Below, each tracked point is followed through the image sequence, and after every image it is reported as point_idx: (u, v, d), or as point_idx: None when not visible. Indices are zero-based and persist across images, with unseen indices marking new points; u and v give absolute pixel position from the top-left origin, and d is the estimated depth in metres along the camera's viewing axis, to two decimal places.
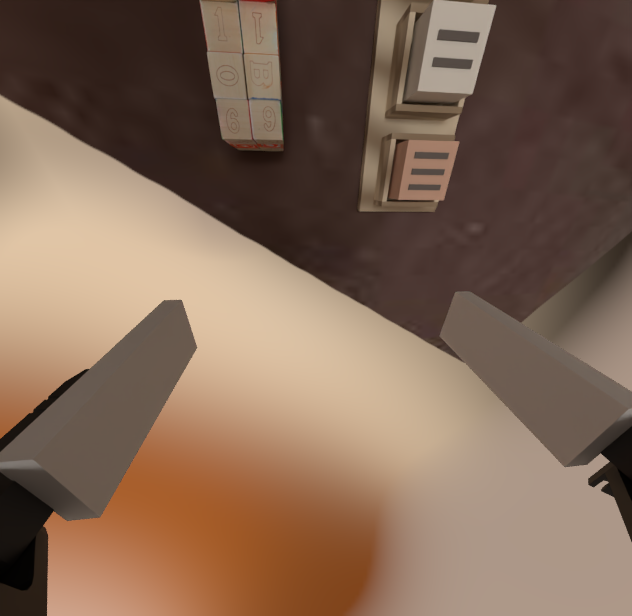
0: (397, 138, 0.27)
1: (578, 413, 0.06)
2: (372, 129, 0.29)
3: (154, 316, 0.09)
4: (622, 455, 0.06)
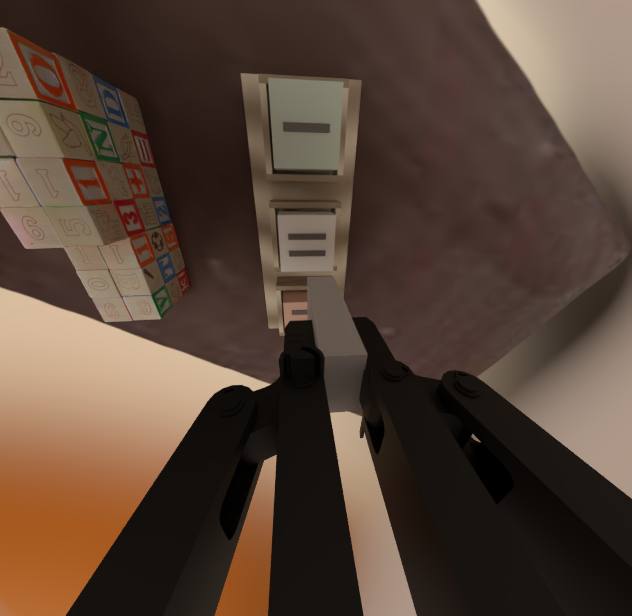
0: (281, 289, 0.29)
1: None
2: (266, 271, 0.31)
3: (315, 286, 0.11)
4: (361, 397, 0.07)
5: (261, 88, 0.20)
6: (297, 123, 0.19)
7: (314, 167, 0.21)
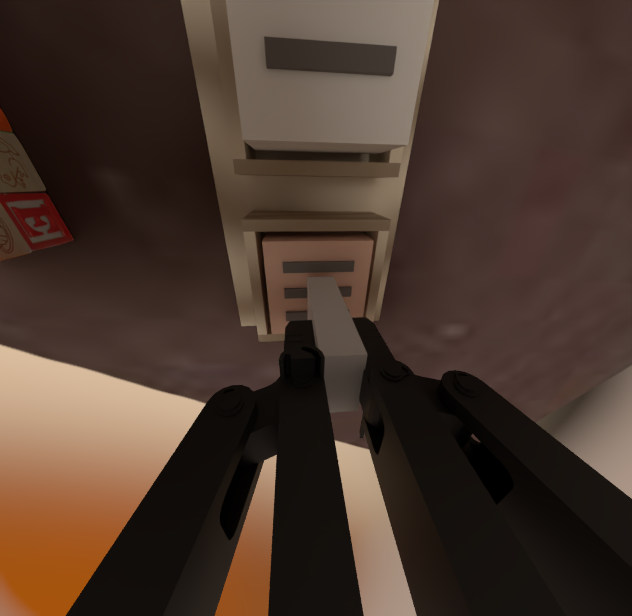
0: (258, 229, 0.12)
1: None
2: (227, 196, 0.14)
3: (315, 287, 0.11)
4: (361, 397, 0.07)
5: None
6: None
7: None
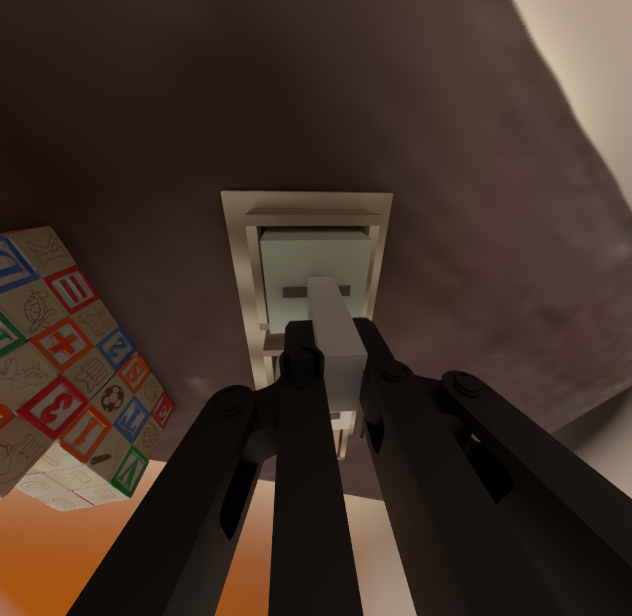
0: None
1: None
2: None
3: (315, 286, 0.11)
4: (361, 397, 0.07)
5: (249, 232, 0.13)
6: (303, 288, 0.13)
7: None
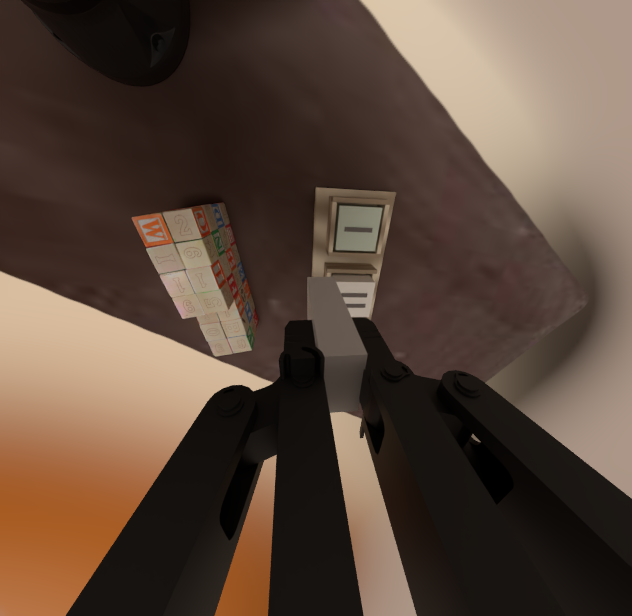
0: None
1: None
2: None
3: (315, 287, 0.11)
4: (361, 397, 0.07)
5: (333, 204, 0.30)
6: (353, 227, 0.31)
7: (360, 249, 0.33)
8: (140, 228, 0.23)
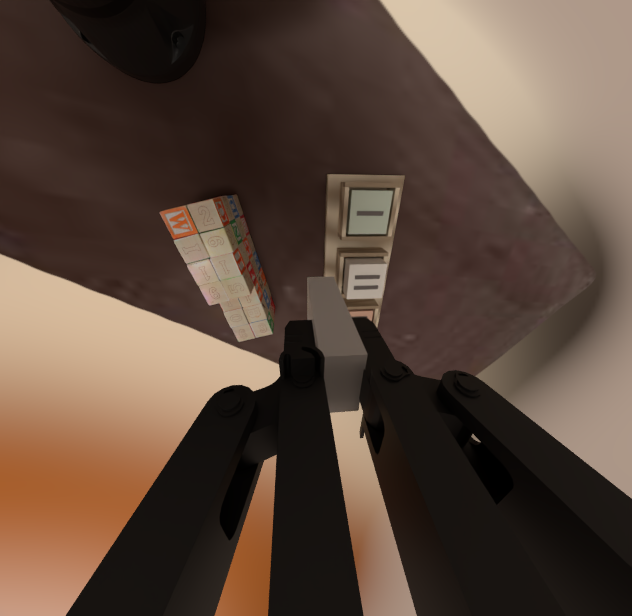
0: None
1: None
2: None
3: (315, 286, 0.11)
4: (361, 397, 0.07)
5: (346, 189, 0.31)
6: (365, 211, 0.33)
7: (371, 233, 0.35)
8: (167, 222, 0.25)
